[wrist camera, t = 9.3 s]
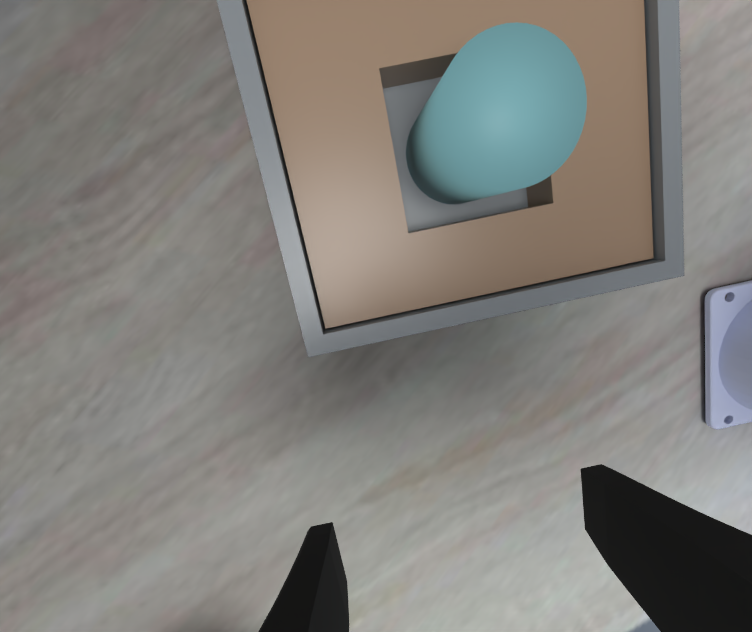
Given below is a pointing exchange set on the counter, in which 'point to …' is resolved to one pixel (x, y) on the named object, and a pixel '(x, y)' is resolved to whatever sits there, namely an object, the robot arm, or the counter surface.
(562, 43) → the teal peg
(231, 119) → the counter surface
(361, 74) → the bore box
